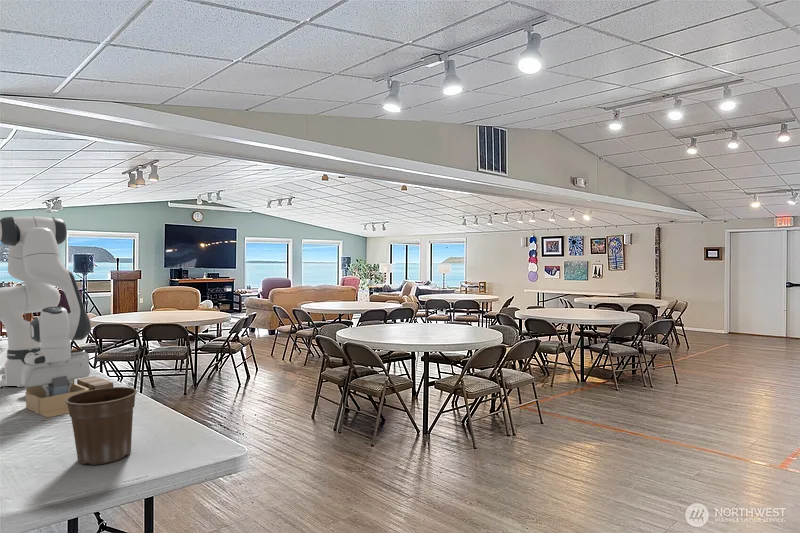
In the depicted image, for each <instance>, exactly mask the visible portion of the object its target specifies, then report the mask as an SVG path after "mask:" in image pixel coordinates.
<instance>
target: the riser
mask: <svg viewBox="0 0 800 533" xmlns="http://www.w3.org/2000/svg"><path fill="white" fill-rule="evenodd" d="M76 384H78V385H81V386H83V387H86V388H88V389H89V391H90V390H95V389H102V388H112V387H114V382H113V381H110V380H106V379H104V378H100V377H99V376H96V375H94V376H93V375H92V376H88V377H84V378H78V379H76Z"/></svg>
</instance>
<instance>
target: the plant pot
mask: <svg viewBox="0 0 800 533" xmlns="http://www.w3.org/2000/svg"><path fill="white" fill-rule="evenodd" d="M137 393H138V390H137V389H136V388H134V387H130V386H129V387H127V386H119V387H118V386H116V387H114V386H113V387H112V388H102V389H95V390H90V391H85V392H81V393H77V394H74V395H72V396H70V397H68V398H66V400H65V403H66V404H67V405H68V410H69V413H68V414H69V415H68V416H69V417H70V418H71V424H72V430H73V431H72V432H73V436H74V443H75V450H76V455H77V456H76V457H77V462H78V463H79V464H80V465H81V464H82V465H87V464H90V465H91V466H95V465H104V464H110V463H113V462H116V461H119V460H122V459H124V457H126V456H129V455H130V454H131V452H132V439H133V438H132V437H133V436H132V434H133V416H134V415H133V414H134V408H135V403H136V402H135V401H136V395H137Z"/></svg>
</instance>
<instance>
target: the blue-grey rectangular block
mask: <svg viewBox="0 0 800 533" xmlns="http://www.w3.org/2000/svg"><path fill="white" fill-rule="evenodd" d="M52 380H53V383H51V384H48V391H52V396H55V395H60V394H65V393H68V391H67V376H63V377H57V378H52Z"/></svg>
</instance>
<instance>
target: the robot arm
mask: <svg viewBox="0 0 800 533" xmlns="http://www.w3.org/2000/svg"><path fill="white" fill-rule="evenodd" d="M67 235H68V229H67V225H66V222H65V221H64V220H63V219H61V218H58V217H47V216H38V215H37V216H34V215H33V216H15V217H13V216H6V217H2V218H1V219H0V243H1V244H3V245H5V246H9V247H8V256H7V258H8V260H7V273H8V274H9V275H10V277H12V278H14V279H16V280H18V281H21V282H23V283H24V285H20V286H18V285H17V286H3V287H2V286H1V287H0V322H1V324H2V325H3V326H4V328H5V331H6V336H7V347H8V349H7V351H6V361H5V363H4V364H3V367H1V368H0V376H1V378H2V380H1V381H0V386H17V387H16V388H19V387H20V388H21V387H24V388H26V387H27V388H29V387H34V386H40V385H41V387H42V389H43V390H44V391H45V394H46V397H50V396H52V391H48V389H47V388H46V387H48V384H51V383H53V380H52V378H57V377H63V376H67V383H68V384H67V391H68V393H70V387H71V385H72V384H73V379H74V380H77V379H82V378H87V377H90V374H91V369H90V363H89V361H90V354H89V353H88V352H87V351H85V350H80V351H73V352H72V348H71V347H72V345H71V344H72V343H71V342H70V341H82V340H84V339H85V338H87V337H88V336H89V335H90V333H91V331H92V323H91V320H90V318H89V315H88V313H87V310H86V308H85V305H84V302H83V299H82V296H81V292H80V290H79V287H78V283H77V280H76V278H75V276H74V274H73V273H72V271H71V270H69V269H67V268H66V267H65V265H63V263H62V260H61V257H60V250H59V247H58V246H59V245H61V244H63V243H64V242H65V241H66V238H67ZM59 289H60V290H62V291H63V293H64V295H65V297H66V300H67V303H68V307H69V310H70V312H68V310H67V309H66V307H63V306H58V305H59V304H60V301H61V293H60V291H59ZM31 313H39V314H40V315H39V316H36V317H35V318H33V320H31V321H28V320H26V319H24V317H23V315H24V314H31Z"/></svg>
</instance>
